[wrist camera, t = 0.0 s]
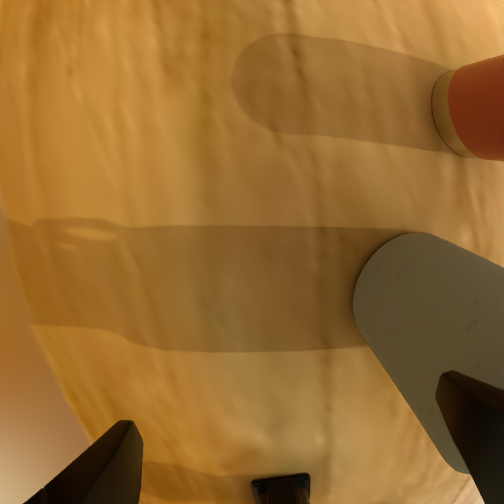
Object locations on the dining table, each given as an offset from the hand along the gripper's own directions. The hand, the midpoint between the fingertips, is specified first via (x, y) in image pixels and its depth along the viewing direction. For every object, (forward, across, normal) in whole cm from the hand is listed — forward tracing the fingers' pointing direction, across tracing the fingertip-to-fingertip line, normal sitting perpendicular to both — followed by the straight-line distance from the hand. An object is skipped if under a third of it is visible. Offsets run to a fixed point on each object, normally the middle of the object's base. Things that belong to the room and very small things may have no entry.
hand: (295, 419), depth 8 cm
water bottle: (+15, -11, +4) cm, 19 cm away
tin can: (+15, -18, -10) cm, 25 cm away
